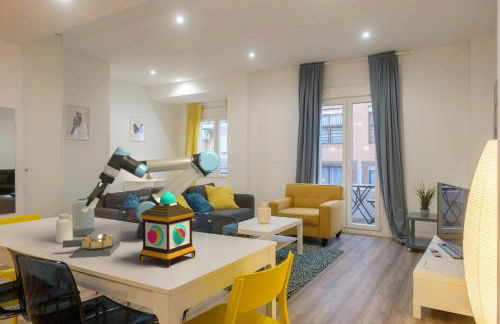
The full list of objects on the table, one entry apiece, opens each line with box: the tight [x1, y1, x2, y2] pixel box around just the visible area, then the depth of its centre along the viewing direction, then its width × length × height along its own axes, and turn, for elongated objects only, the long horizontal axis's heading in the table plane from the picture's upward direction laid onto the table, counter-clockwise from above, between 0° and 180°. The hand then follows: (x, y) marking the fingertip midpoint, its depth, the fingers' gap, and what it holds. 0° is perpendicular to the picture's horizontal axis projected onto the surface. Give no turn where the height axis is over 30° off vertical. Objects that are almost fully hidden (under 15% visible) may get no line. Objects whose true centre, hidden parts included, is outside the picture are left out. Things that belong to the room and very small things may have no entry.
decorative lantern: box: [138, 192, 196, 268], centre depth 149 cm, size 20×20×30 cm
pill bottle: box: [55, 213, 74, 244], centre depth 184 cm, size 8×8×15 cm
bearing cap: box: [72, 232, 121, 259], centre depth 164 cm, size 16×20×8 cm
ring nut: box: [62, 232, 114, 249], centre depth 162 cm, size 22×13×4 cm, turn 109°
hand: (87, 210), depth 176 cm, fingers open, 13 cm apart
